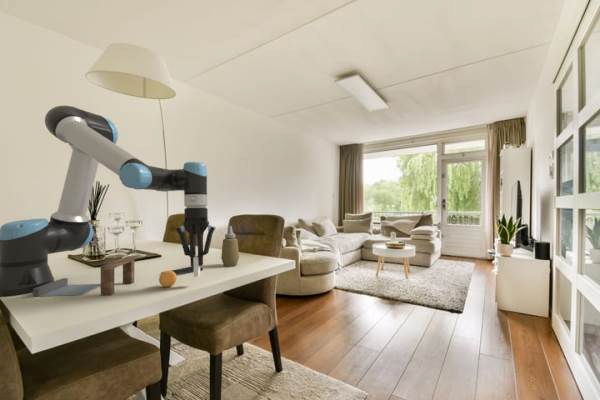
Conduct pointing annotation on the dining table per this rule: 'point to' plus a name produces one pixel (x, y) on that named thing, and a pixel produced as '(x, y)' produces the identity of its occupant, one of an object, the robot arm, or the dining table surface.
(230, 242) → the squeeze bottle
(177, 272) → the phone
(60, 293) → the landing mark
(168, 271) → the ball
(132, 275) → the bridge
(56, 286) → the stopper wall
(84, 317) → the dining table surface
